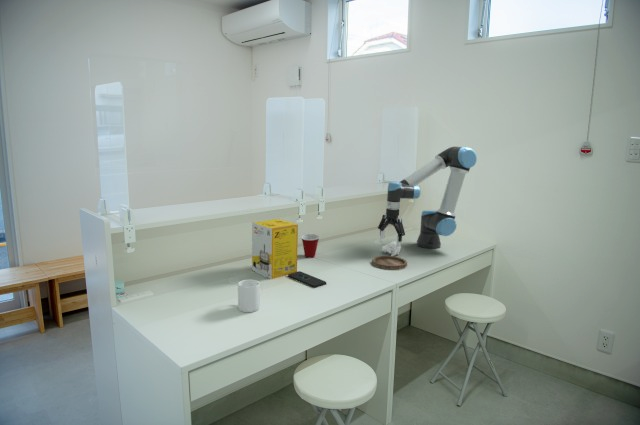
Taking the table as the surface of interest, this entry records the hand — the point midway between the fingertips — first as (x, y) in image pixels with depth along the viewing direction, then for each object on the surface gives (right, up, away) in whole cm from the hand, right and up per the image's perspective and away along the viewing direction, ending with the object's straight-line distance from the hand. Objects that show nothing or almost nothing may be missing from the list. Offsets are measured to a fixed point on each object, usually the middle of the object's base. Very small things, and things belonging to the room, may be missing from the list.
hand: (390, 244), depth 251 cm
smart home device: (-48, -15, -46) cm, 68 cm away
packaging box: (-64, -12, -35) cm, 74 cm away
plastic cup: (-47, -7, -7) cm, 48 cm away
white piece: (0, -6, +1) cm, 7 cm away
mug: (-71, -20, -79) cm, 108 cm away
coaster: (-3, -10, -18) cm, 21 cm away
